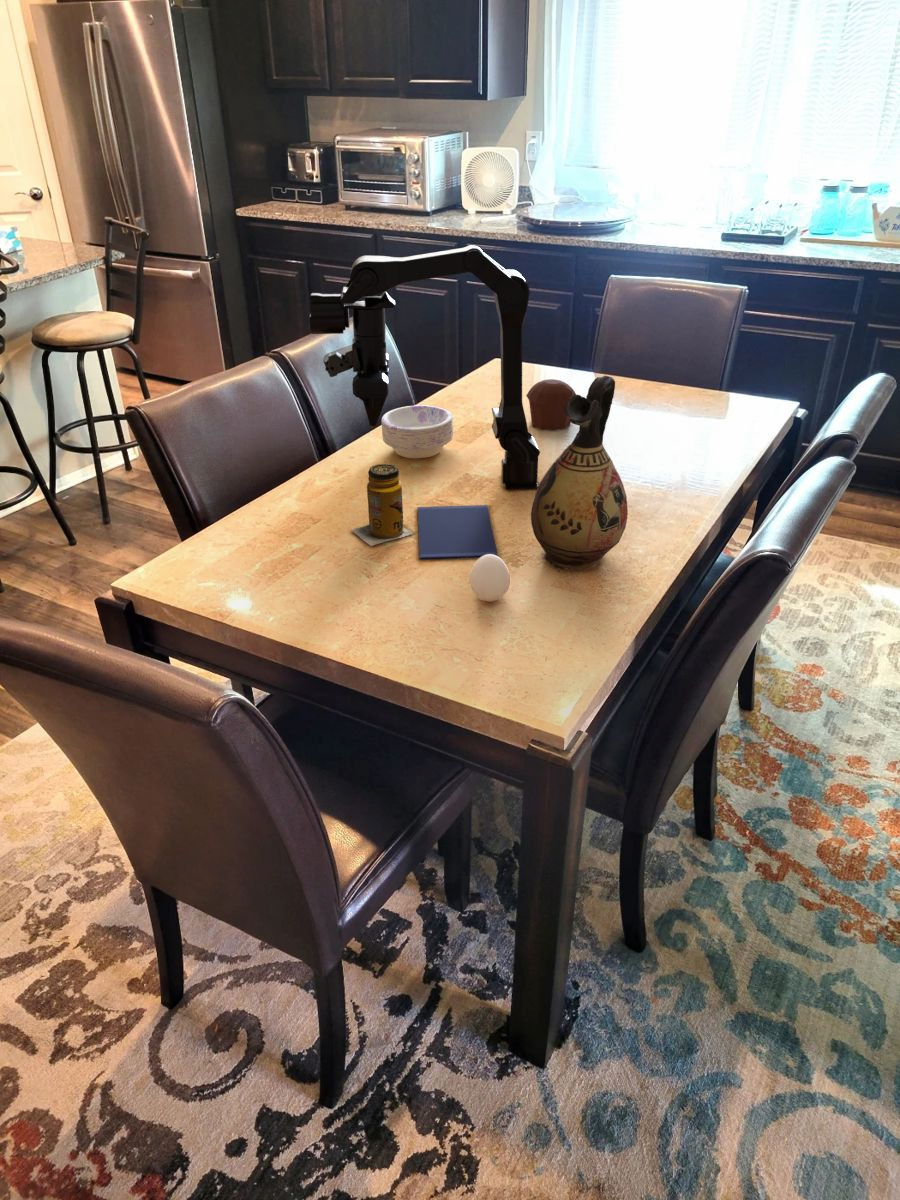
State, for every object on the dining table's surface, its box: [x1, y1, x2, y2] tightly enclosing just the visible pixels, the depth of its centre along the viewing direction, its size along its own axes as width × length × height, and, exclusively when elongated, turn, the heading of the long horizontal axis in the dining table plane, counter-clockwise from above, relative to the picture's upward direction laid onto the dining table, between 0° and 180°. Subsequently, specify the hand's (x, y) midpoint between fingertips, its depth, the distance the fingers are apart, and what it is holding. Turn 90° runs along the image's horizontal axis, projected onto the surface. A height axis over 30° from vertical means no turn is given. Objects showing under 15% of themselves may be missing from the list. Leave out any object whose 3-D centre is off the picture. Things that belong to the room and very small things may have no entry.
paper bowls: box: [381, 404, 454, 459], centre depth 182 cm, size 15×15×8 cm
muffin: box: [525, 378, 577, 432], centre depth 196 cm, size 12×11×10 cm
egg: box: [469, 554, 511, 602], centre depth 129 cm, size 6×6×8 cm
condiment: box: [351, 463, 413, 547], centre depth 148 cm, size 7×8×12 cm
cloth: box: [417, 504, 498, 561], centre depth 151 cm, size 13×20×1 cm, turn 3°
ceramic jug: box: [530, 374, 629, 572], centre depth 135 cm, size 17×15×30 cm
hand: (373, 417), depth 160 cm, fingers open, 9 cm apart
